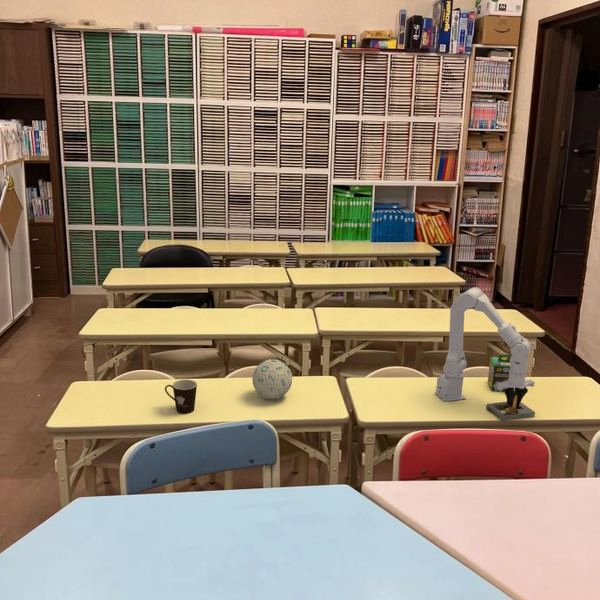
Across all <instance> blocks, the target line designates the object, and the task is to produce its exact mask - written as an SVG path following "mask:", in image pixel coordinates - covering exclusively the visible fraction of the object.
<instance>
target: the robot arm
mask: <svg viewBox="0 0 600 600" xmlns="http://www.w3.org/2000/svg"><path fill="white" fill-rule="evenodd" d="M473 308H474V309H473ZM470 309H473V310H474V311H476V312H482V313H483V314H485V316H486V317H487V318H488V319H489V320H490V321H491V322H492V323H493V324H494V325H495V326H496V327H497V334H498V335H499V336H500V338H501V339H502V340H503V341H504V342H505V344H507V345H508V347H509V348H510V355H511V358H512V359H511V365H510V372H509V379H508V381H505V382H502V383H498V385H497V388H498V389H499V390H502V389H504V394H505V397H506V402H507V405H508V406H510V407H512V406H513V401H514V397H515V395H518V397H517V404H516V406H519V405H520V402H522V400H523V399H524V397H525V395H526V394H527V393H529V392H528V391H529V389H528V388H527V387H531V388H533V387H534V386H535V383H536V381H533V380H532V379H526V377H527V376H526V375H527V368H528V362H529V361H528V360H529V352H531V349H532V345H531V342H530V340H529V339H528V338H525V336H522V335H521V334H520V332H519V331H518V330H517V326H516V325H514V324H512V323H511V322H506V321H505V319H504V318H503V317H502V316H501V314H500V313H499V311H498V310H497V308H495V306H494V305H493V304H492V303H491V301H490V300H489V297H488V296H487V294H486V293H484V292H483V290H482V289H481V288H479V287H477V286H476V287H471V288H469V289H467V290H466V291H465V292H463V293H461V294H459V295H458V296H457V297H456V299H455V301H454V302H453V303H452V305H451V306H450V309H449V310H450V311H449V312H450V313H449V338H448V340H449V341H448V342H449V343H448V353H447V355H446V358H445V364H444V365H443V372H444V374H442V375H439V376H438V377H437V379H436V389H435V391H434V393H435V394H436V396H438V397H439V398H440V399H441V400H442V401H444V402H451V401H457V400H458V401H459V400H466V399H467V397H466V396H465V395H463V385H464V378H465V377H464V376H465V374H464V370H466V368H467V366H468V362H467V360H466V354H465V352H464V333H465V331H464V330H465V328H464V327H465V312H466V311H467V310H470ZM513 388H514V389H513Z"/></svg>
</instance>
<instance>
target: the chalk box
mask: <svg viewBox="0 0 600 600" xmlns="http://www.w3.org/2000/svg"><path fill="white" fill-rule="evenodd" d="M511 359H512V354H503V353H502V354H501V353H500V354H498V357H497V356H491V357H490V358H489V366H488V374H487V384H488V386H489V388H490V390H491V391H492V392H504V389H502V390H499V389H498V388H497V385H498V383H502V382H505V381H508V379H509V372H510V365H511ZM513 389H514V390H515V388H513ZM504 393H505V392H504Z"/></svg>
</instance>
